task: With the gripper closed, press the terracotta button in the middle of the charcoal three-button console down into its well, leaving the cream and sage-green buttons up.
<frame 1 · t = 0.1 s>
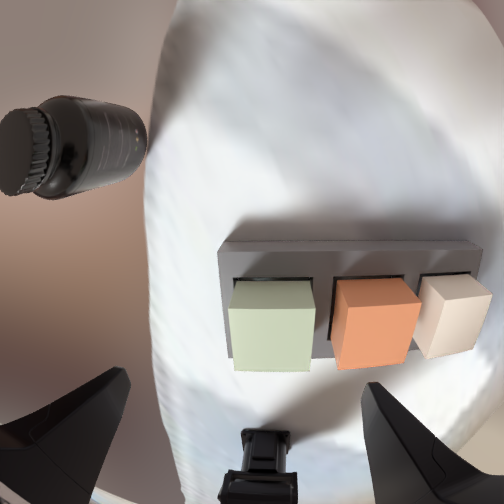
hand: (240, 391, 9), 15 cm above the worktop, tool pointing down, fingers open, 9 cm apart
supplement bottle: (117, 144, 21), on the worktop
terracotta button: (372, 323, 19), point 4 cm above the worktop, slide at 0.0 cm
sage button: (272, 326, 19), point 4 cm above the worktop, slide at 0.0 cm
cream button: (450, 314, 18), point 4 cm above the worktop, slide at 0.0 cm
console: (358, 294, 23), on the worktop
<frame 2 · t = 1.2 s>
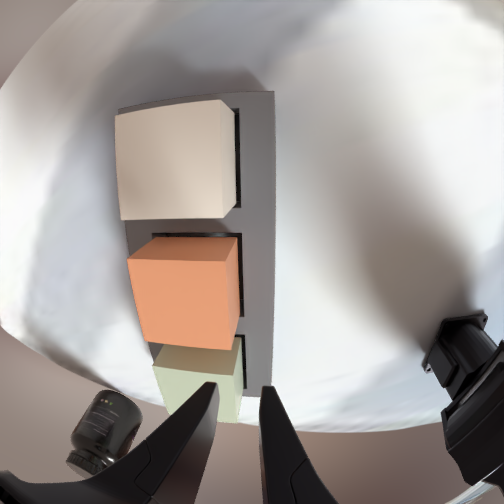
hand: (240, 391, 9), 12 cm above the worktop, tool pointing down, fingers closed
supplement bottle: (121, 404, 29), on the worktop
terracotta button: (189, 290, 16), point 4 cm above the worktop, slide at 0.0 cm
sage button: (202, 378, 19), point 4 cm above the worktop, slide at 0.0 cm
cream button: (178, 160, 14), point 4 cm above the worktop, slide at 0.0 cm
console: (207, 262, 20), on the worktop
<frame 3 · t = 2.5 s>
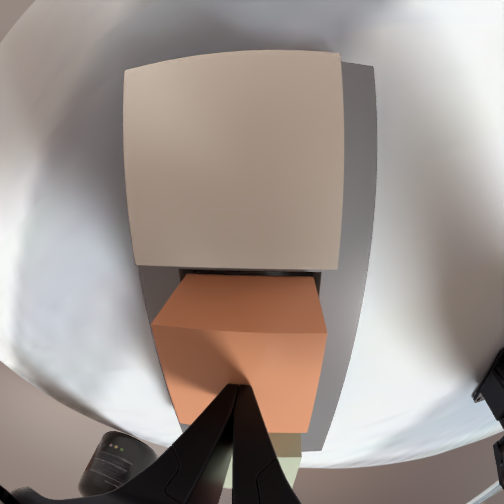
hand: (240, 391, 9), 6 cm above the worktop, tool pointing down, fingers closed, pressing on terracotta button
supplement bottle: (132, 445, 23), on the worktop
terracotta button: (245, 356, 11), point 4 cm above the worktop, slide at -0.2 cm, touching gripper
sage button: (248, 448, 13), point 5 cm above the worktop, slide at 0.0 cm
cream button: (238, 157, 8), point 4 cm above the worktop, slide at 0.0 cm
console: (254, 303, 15), on the worktop
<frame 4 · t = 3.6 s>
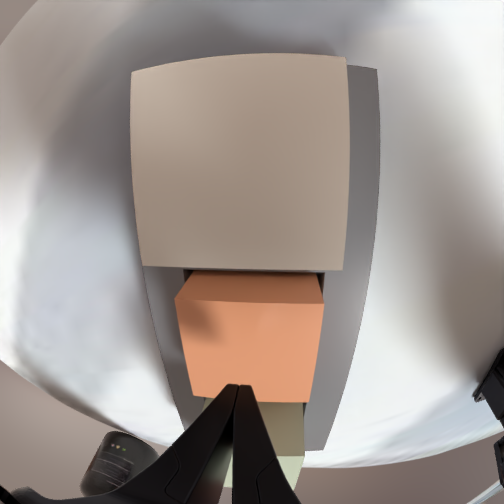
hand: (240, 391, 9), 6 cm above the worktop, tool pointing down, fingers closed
supplement bottle: (134, 445, 23), on the worktop
terracotta button: (253, 331, 12), point 3 cm above the worktop, slide at -1.9 cm
sage button: (251, 447, 13), point 5 cm above the worktop, slide at 0.0 cm
cream button: (244, 159, 8), point 5 cm above the worktop, slide at 0.0 cm
console: (257, 303, 15), on the worktop
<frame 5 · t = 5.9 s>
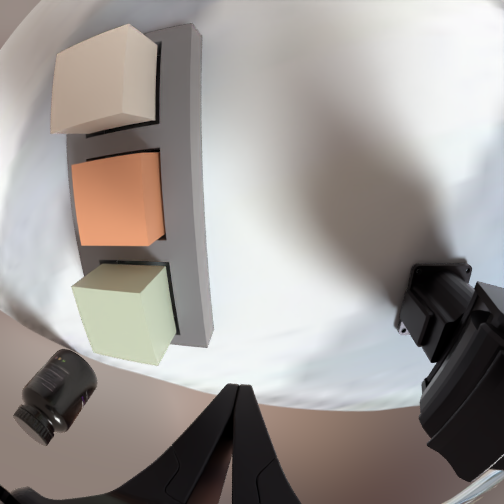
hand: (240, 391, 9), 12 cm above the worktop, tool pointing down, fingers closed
supplement bottle: (78, 367, 27), on the worktop
terracotta button: (122, 197, 17), point 3 cm above the worktop, slide at -1.9 cm
sage button: (126, 311, 17), point 5 cm above the worktop, slide at 0.0 cm
cream button: (103, 83, 12), point 5 cm above the worktop, slide at 0.0 cm
console: (139, 191, 19), on the worktop
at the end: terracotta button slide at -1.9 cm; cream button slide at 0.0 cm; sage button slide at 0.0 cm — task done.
